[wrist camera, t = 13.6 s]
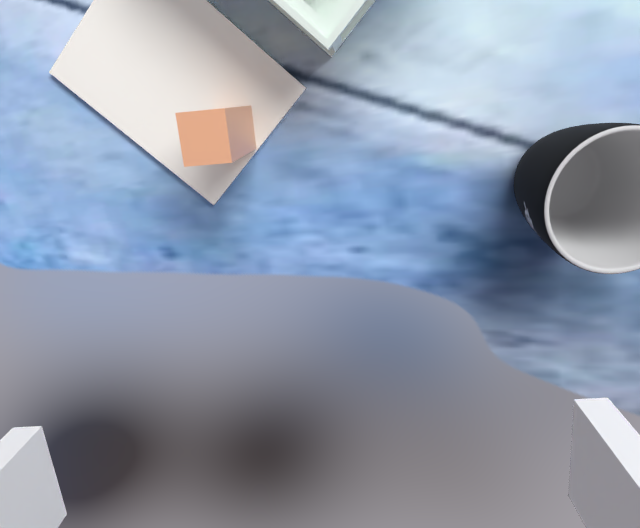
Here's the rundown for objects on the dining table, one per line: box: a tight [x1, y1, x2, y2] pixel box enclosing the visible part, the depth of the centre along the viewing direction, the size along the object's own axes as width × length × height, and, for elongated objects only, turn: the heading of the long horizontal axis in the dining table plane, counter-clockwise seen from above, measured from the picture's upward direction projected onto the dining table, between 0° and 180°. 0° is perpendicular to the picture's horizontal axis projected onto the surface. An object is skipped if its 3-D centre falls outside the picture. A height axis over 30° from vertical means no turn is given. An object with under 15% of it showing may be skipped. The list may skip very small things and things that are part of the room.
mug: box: [514, 123, 640, 274], centre depth 36 cm, size 12×9×10 cm
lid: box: [49, 0, 306, 205], centre depth 36 cm, size 16×12×10 cm
